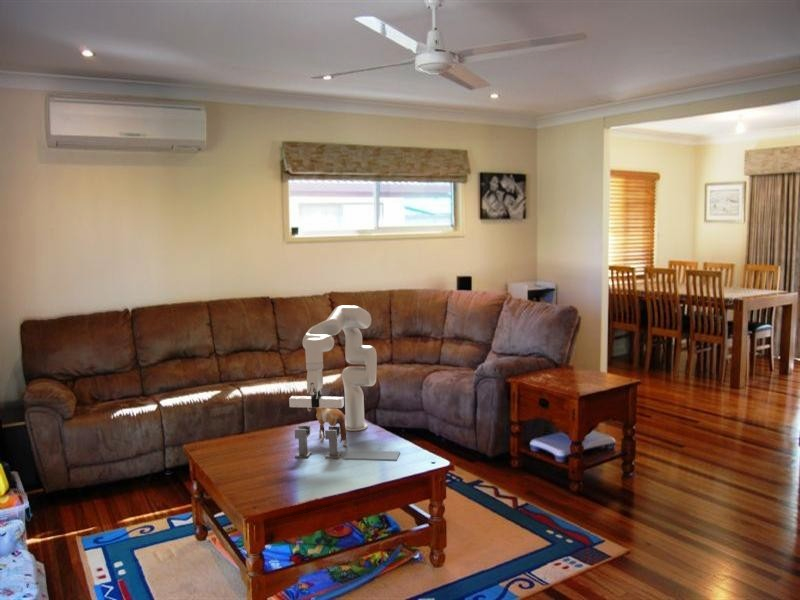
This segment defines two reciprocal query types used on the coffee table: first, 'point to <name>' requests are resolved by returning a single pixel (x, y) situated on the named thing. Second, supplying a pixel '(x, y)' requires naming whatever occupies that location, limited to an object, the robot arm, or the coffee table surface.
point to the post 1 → (303, 441)
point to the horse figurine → (331, 421)
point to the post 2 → (333, 442)
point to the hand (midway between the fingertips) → (316, 405)
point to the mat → (371, 455)
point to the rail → (323, 402)
